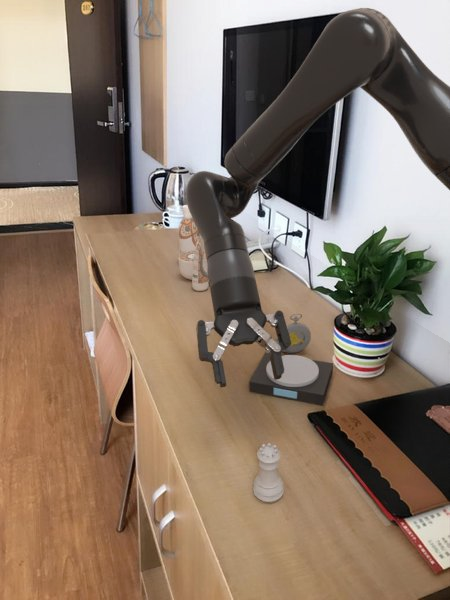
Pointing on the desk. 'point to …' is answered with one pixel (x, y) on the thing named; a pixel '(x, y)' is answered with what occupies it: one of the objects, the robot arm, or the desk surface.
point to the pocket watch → (297, 336)
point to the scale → (293, 379)
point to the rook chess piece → (268, 475)
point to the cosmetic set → (192, 253)
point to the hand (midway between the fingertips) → (251, 382)
